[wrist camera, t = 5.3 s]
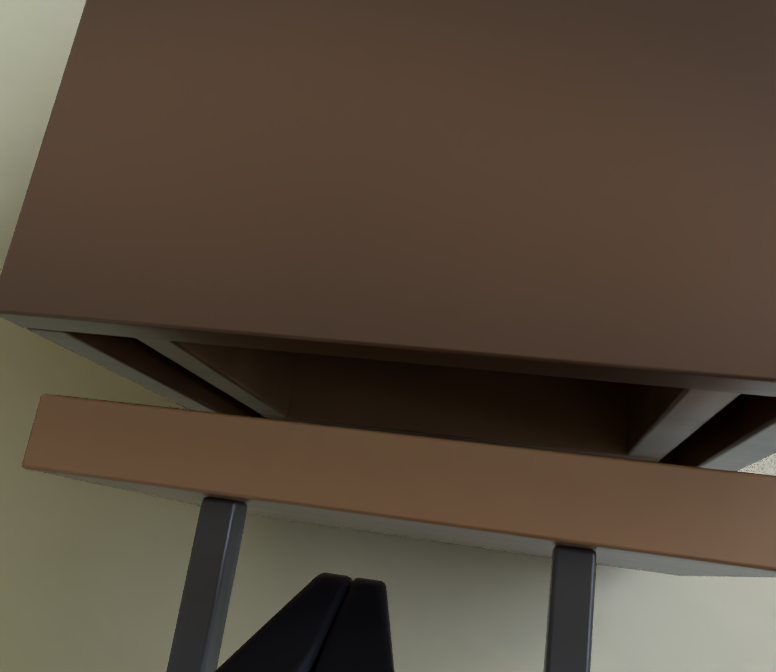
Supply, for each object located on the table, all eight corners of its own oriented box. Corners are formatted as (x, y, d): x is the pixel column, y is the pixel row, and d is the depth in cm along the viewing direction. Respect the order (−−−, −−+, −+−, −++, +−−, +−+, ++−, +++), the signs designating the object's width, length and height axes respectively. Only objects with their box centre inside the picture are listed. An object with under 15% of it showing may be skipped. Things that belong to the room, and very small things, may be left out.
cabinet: (701, 489, 19) (907, 393, 9) (238, 434, 21) (-13, 311, 11) (710, 40, 22) (860, -383, 13) (317, 40, 25) (181, -310, 15)
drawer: (676, 801, 16) (840, 1045, 8) (192, 703, 18) (-78, 811, 10) (693, 116, 21) (806, -184, 13) (310, 109, 23) (192, -149, 15)
